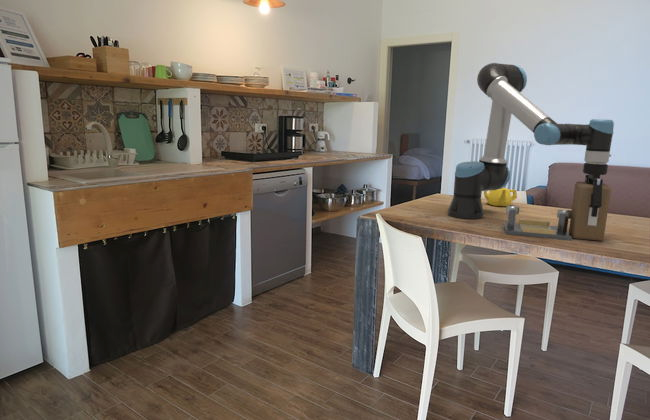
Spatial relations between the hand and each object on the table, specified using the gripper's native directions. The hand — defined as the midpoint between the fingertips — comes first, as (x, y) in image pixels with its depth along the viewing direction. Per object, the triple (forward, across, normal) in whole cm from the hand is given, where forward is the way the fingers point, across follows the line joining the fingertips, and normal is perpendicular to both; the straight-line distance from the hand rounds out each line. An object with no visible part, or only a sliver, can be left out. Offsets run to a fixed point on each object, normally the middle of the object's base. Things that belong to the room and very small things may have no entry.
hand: (587, 221), depth 168 cm
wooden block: (+6, 0, 0) cm, 6 cm away
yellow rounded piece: (+6, +54, +28) cm, 61 cm away
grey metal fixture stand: (+6, 0, +17) cm, 18 cm away
